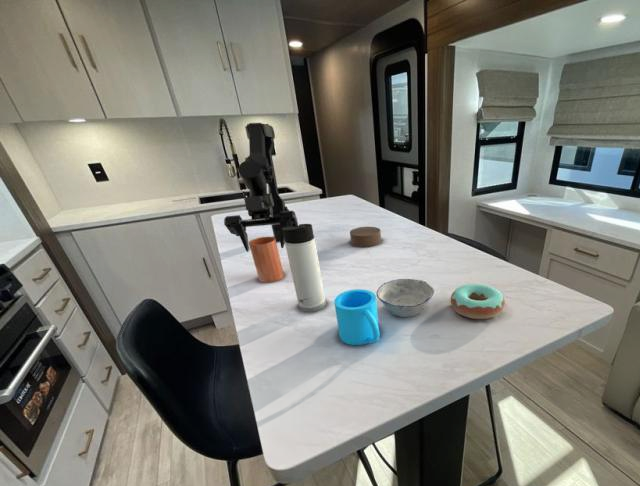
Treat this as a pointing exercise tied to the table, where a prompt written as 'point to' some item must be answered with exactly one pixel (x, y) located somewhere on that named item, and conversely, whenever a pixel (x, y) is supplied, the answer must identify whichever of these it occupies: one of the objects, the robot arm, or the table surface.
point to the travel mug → (304, 266)
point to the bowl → (405, 296)
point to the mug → (357, 317)
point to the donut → (477, 301)
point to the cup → (266, 259)
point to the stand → (365, 236)
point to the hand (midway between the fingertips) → (264, 249)
